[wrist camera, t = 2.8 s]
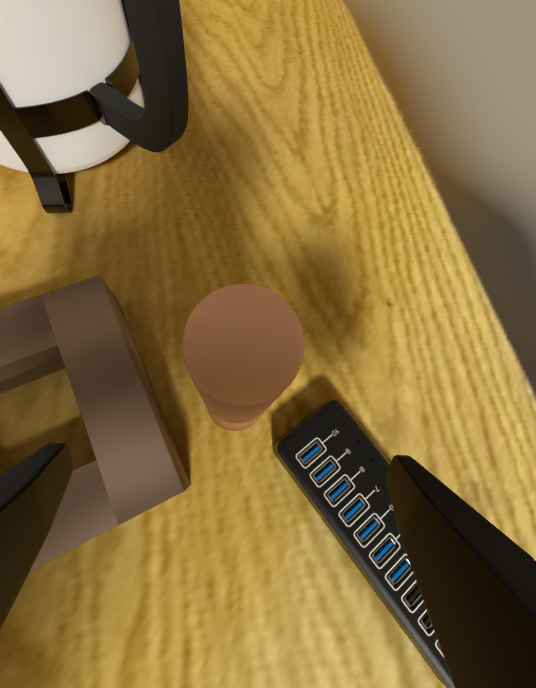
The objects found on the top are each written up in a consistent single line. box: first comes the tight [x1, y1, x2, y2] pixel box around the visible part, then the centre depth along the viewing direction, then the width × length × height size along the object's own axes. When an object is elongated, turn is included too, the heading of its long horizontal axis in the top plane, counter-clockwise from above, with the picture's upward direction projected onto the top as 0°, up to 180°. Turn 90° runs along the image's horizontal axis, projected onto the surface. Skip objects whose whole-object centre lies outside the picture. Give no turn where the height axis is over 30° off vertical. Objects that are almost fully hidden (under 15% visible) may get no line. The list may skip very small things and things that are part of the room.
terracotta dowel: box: [182, 284, 305, 431], centre depth 13 cm, size 3×3×13 cm
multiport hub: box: [273, 400, 455, 688], centre depth 18 cm, size 4×14×2 cm, turn 38°
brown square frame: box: [0, 275, 191, 570], centre depth 16 cm, size 12×12×3 cm
